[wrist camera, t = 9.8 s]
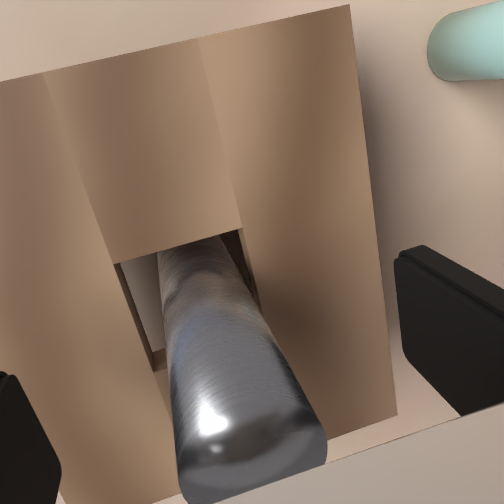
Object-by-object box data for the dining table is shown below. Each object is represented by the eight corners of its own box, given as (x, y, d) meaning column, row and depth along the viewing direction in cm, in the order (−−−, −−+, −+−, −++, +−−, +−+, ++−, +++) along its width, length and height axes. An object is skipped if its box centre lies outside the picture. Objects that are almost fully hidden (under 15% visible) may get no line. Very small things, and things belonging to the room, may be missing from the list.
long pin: (210, 205, 18) (314, 378, 7) (225, 262, 19) (337, 489, 8) (147, 222, 18) (157, 431, 7) (166, 279, 19) (200, 542, 8)
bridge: (286, 30, 17) (349, 4, 12) (339, 340, 22) (397, 415, 17) (-48, 106, 15) (-143, 114, 10) (95, 420, 20) (79, 529, 15)
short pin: (482, 5, 18) (598, -24, 13) (483, 73, 19) (592, 67, 14) (425, 19, 18) (523, -6, 13) (429, 87, 19) (522, 85, 14)
